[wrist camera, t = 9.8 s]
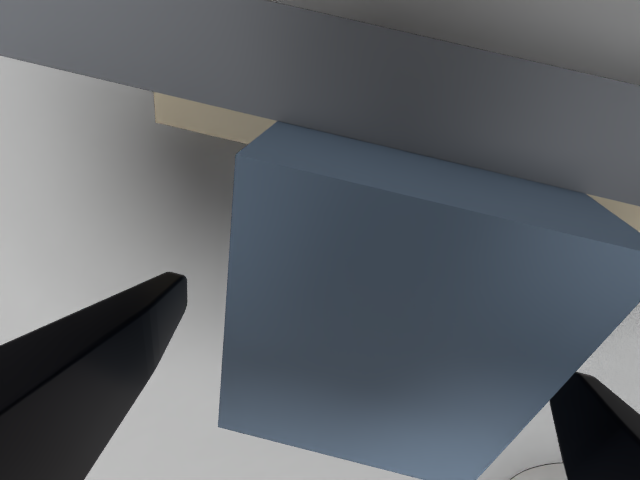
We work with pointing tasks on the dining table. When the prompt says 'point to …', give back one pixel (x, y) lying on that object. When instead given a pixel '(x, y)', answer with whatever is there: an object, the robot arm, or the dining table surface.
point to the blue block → (408, 301)
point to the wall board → (346, 86)
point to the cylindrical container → (543, 473)
